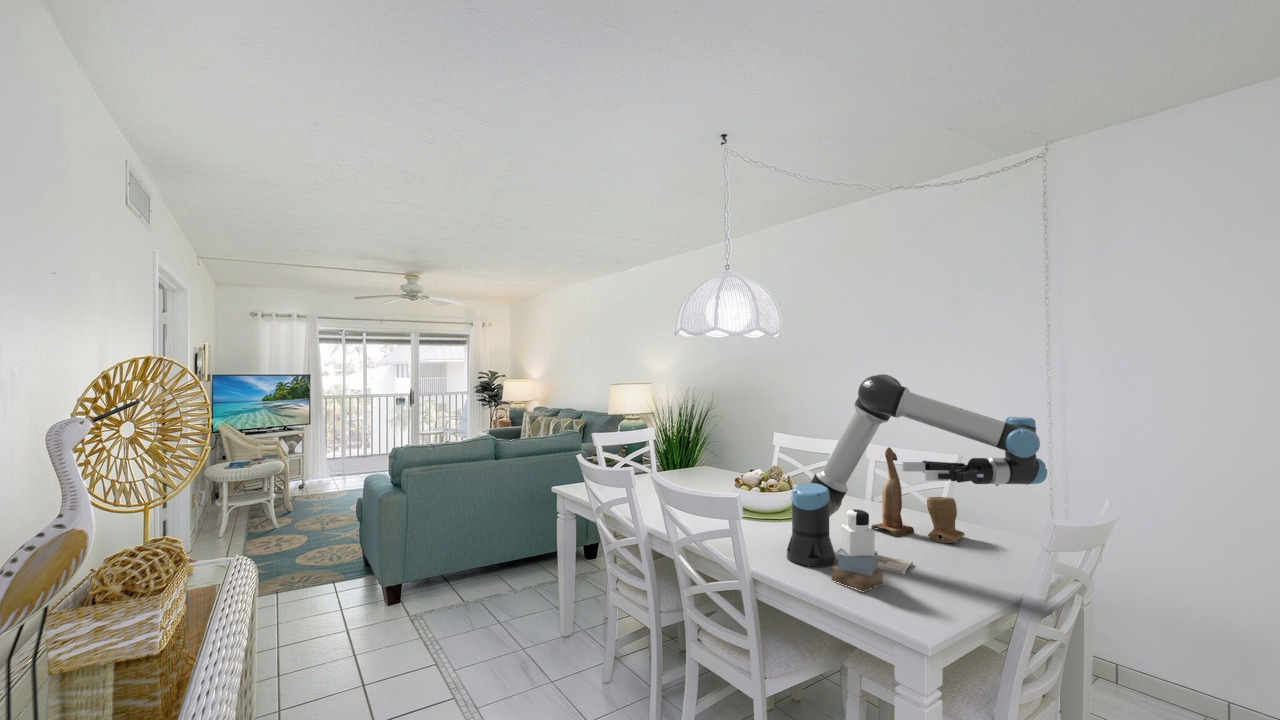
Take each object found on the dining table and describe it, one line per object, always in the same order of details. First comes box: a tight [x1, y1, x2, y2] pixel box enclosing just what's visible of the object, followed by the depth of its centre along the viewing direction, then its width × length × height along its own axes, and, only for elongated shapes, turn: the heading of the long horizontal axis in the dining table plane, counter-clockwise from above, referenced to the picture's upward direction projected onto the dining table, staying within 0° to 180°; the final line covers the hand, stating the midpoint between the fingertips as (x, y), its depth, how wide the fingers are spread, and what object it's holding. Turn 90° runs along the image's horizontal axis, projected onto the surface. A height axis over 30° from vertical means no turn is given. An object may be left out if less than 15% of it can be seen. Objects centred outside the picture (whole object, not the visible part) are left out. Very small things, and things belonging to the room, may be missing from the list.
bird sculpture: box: [870, 446, 915, 538], centre depth 212 cm, size 11×12×32 cm
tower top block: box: [837, 549, 878, 576], centre depth 162 cm, size 9×9×4 cm
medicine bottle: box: [840, 508, 876, 556], centre depth 162 cm, size 7×7×12 cm
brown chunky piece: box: [926, 496, 965, 544], centre depth 203 cm, size 15×12×15 cm
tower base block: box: [831, 564, 884, 592], centre depth 162 cm, size 10×10×4 cm
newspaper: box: [835, 547, 914, 575], centre depth 180 cm, size 23×12×2 cm, turn 52°
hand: (913, 470), depth 163 cm, fingers open, 13 cm apart
